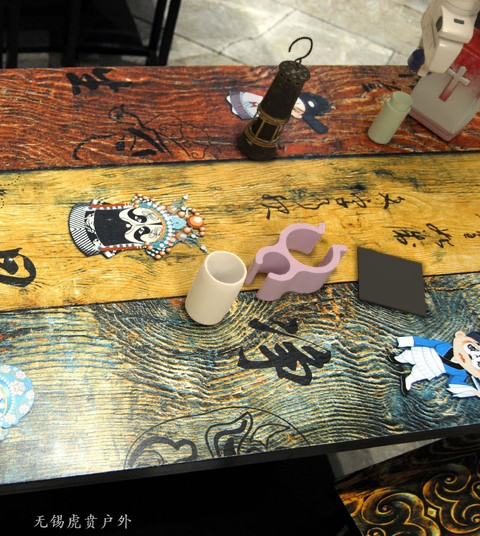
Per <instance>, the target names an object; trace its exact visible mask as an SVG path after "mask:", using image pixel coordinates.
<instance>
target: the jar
mask: <svg viewBox="0 0 480 536" xmlns="http://www.w3.org/2000/svg"><path fill="white" fill-rule="evenodd" d="M412 103H413V99H412V98H411V96H410V94H409V93H407V92H404V91H400V90H397V91H395V92H393V93H392V94H391V96H389V97H388V98H387V99H386V101H384V104H383V105H382V107H381V109H380V110H379V111H378V113H377V115H376V117H375V118H374V119H373V122H372V123H371V125H370V126H369V128H368V130H367V136H368V138H369V139H371V140H372V141H373V142H374V143H377V144H381V145H386V144H388V143H390V142H391V140H392V139H393V137H394V136H395V134H396V132H398V130H399V128H400V127H401V125H402V124H403V122H404V121H405V119H406V117H407V116H408V113H409V111H410V109H411V107H410V106H411V104H412Z"/></svg>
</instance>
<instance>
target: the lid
mask: <svg viewBox="0 0 480 536" xmlns="http://www.w3.org/2000/svg"><path fill="white" fill-rule="evenodd" d="M424 61H425V54H424V50H423V49H417V50H416V49H415V50H413V51H412V52H411V54H410V56H409V57H408V58H407V66H408V68H409V69H410V70H411V71H412V72H413V73H415V74H417V75H418V71H417V70H418V68H419V67H420V65H423V64H424V63H425V62H424ZM432 73H433V72H429V71H428V73H427V75H430V74H432Z"/></svg>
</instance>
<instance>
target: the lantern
mask: <svg viewBox="0 0 480 536" xmlns="http://www.w3.org/2000/svg"><path fill="white" fill-rule="evenodd" d="M301 40H308V41H309V42H310V45H309V50H308V51H307V52H306V54H305V55H303V56H300V57H297V58H295V59H294V60H291V59H290V60H288V59H287V60H286V59H285V60H282V61H281V62H280V63H279V64H278V71H277V72H276V74H275V77H273V78H274V79H273V80H272V81H271V84H270V85H269V87H268V89H267V91H266V92H265V95H264V96H263V97H262V99H261V100H260V102H259V103H258V105H257V107H256V112H255V113H254V115H253V116H252V119H251V121H250V122H248V123H247V124H246V126H245V128H244V130H243V131H242V133H241V134H240V135H239V136H238V138H237V147H238V150H239V151H240V152H241V153H242V154H243V155H244V156H246V157H247V158H249V159H251V160H252V161H253V160H254V161H257V162H266V161H270V160H272V159H273V158H274V157H275V155H276V153H277V149H278V150H279V151H282V150H283V147H282V146H281V141H282V134H283V132H284V131H285V127H286V125H287V124H288V123H289V122H290V119H291V117H292V114H293V110H294V108H295V106H296V104H297V101H298V99H299V97H300V95H301V92H302V91H303V88H304V86H305V84H306V83H307V82H309V81H310V80H311V77H312V75H311V72H310V69H309V68H308V67H307V66H305V65H304V64H302V62H303V59H306V58H308V57H309V56H310V54H311V53H312V51H313V49H314V41H313V38H311V37H310V36H300V37H297V38H296V39H295V40H293V41H292V42H291V43H290V45H289V46H288V50H287V51H288V52H287V53H291V52H292V51H291V50H292V47H293V46H294V45H295V44H297V42H299V41H301ZM256 117H257V118H256ZM281 126H282V128H281ZM280 129H281V130H280Z"/></svg>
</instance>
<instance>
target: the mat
mask: <svg viewBox="0 0 480 536" xmlns="http://www.w3.org/2000/svg"><path fill="white" fill-rule="evenodd" d="M357 289H358V290H357V291H358V300H359V301H364V302H367V303H371V304H375V305H378V306H382V307H386V308H390V309H393V310H397V311H401V312H405V313H409V314H412V315H415V316H420V317H423V318H426V317H427V306H426V295H425V294H426V293H425V285H424V273H423V263H421V262H417V261H414V260H410V259H406V258H402V257H399V256H396V255H391V254H387V253H385V252H380V251H377V250H373V249H369V248H366V247H362V246H357Z"/></svg>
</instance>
